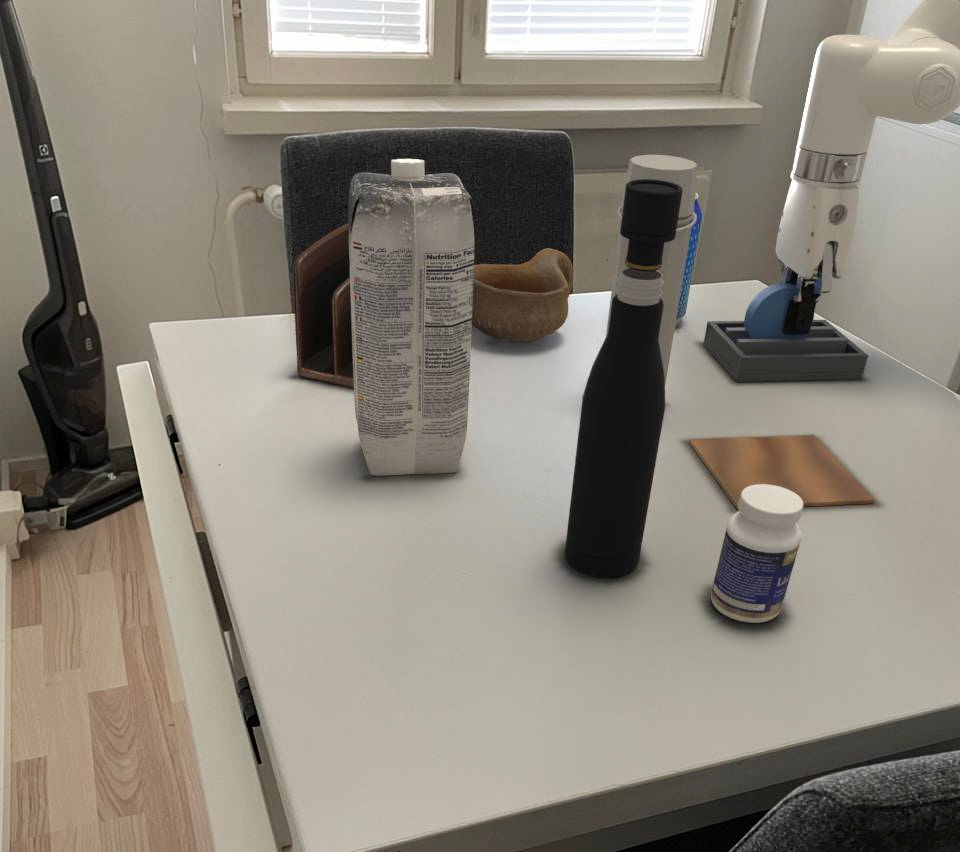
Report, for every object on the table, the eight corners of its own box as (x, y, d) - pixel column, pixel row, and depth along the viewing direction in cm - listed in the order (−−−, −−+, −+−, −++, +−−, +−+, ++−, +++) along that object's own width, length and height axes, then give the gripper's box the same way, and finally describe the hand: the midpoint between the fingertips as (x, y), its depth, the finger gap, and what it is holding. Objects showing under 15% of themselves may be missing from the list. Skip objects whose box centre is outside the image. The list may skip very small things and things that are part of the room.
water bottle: (598, 386, 114) (627, 150, 99) (666, 394, 113) (706, 157, 98) (589, 419, 107) (618, 170, 92) (661, 428, 106) (704, 178, 91)
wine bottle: (586, 584, 82) (637, 200, 64) (551, 545, 87) (590, 176, 68) (652, 570, 84) (720, 194, 66) (615, 532, 89) (669, 172, 70)
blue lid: (813, 329, 122) (799, 270, 117) (820, 335, 121) (806, 276, 116) (753, 358, 123) (736, 302, 119) (759, 365, 122) (742, 307, 117)
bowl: (489, 287, 136) (512, 217, 129) (578, 334, 134) (606, 265, 127) (430, 326, 123) (452, 250, 116) (527, 379, 121) (556, 304, 114)
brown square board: (813, 438, 106) (814, 434, 106) (874, 503, 95) (875, 499, 95) (688, 442, 104) (689, 438, 104) (736, 509, 93) (737, 505, 93)
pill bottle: (782, 630, 78) (814, 521, 72) (709, 620, 79) (734, 511, 73) (778, 590, 83) (807, 484, 77) (709, 581, 83) (732, 475, 77)
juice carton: (469, 478, 96) (482, 178, 79) (360, 483, 94) (350, 177, 77) (456, 437, 102) (465, 153, 86) (354, 440, 101) (343, 151, 84)
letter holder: (296, 377, 113) (287, 250, 104) (374, 322, 128) (371, 206, 119) (375, 394, 110) (372, 264, 101) (445, 336, 125) (448, 218, 116)
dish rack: (819, 342, 129) (826, 315, 127) (861, 379, 120) (869, 351, 118) (703, 344, 127) (708, 317, 125) (736, 382, 117) (742, 353, 115)
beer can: (640, 304, 138) (657, 180, 128) (694, 318, 134) (717, 193, 124) (609, 320, 132) (626, 192, 122) (666, 335, 128) (687, 205, 119)
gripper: (894, 183, 104) (848, 353, 115) (828, 150, 116) (793, 306, 127) (827, 184, 103) (788, 355, 114) (768, 150, 115) (738, 307, 126)
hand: (791, 328), depth 121 cm, fingers closed on blue lid, 2 cm apart
